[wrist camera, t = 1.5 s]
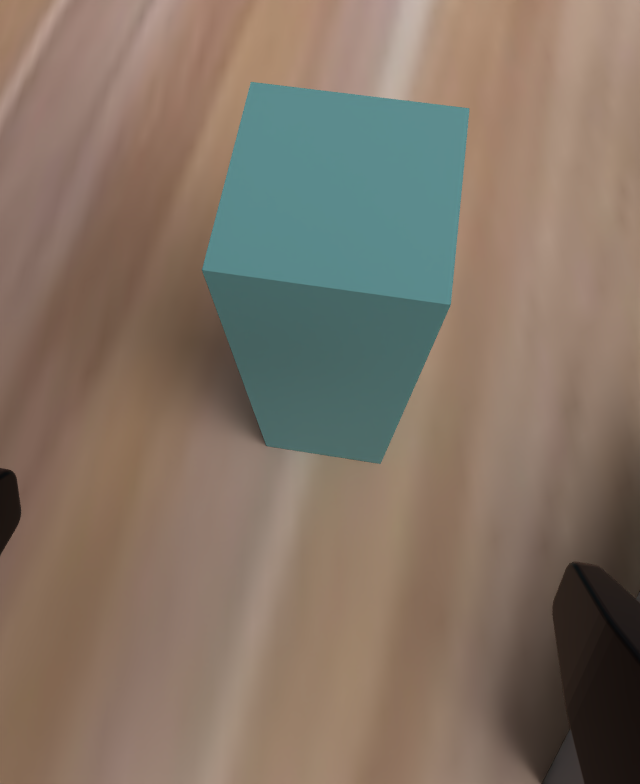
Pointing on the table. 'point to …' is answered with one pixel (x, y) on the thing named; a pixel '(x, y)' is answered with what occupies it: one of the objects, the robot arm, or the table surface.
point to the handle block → (336, 260)
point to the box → (566, 762)
